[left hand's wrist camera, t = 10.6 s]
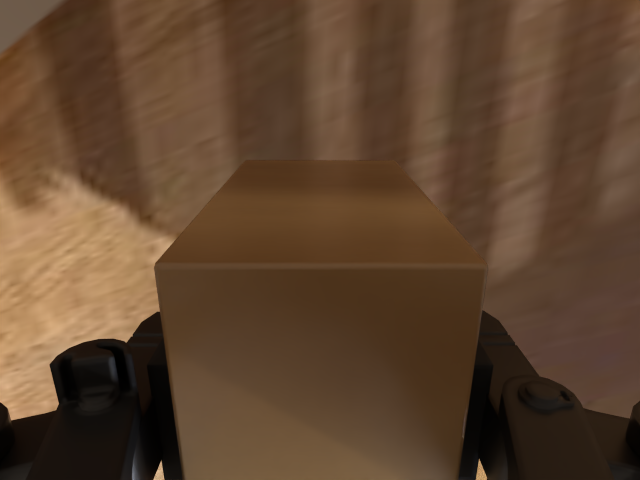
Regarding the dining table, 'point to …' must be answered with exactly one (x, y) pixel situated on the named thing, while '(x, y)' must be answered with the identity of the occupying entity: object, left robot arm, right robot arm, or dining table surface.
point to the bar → (320, 327)
